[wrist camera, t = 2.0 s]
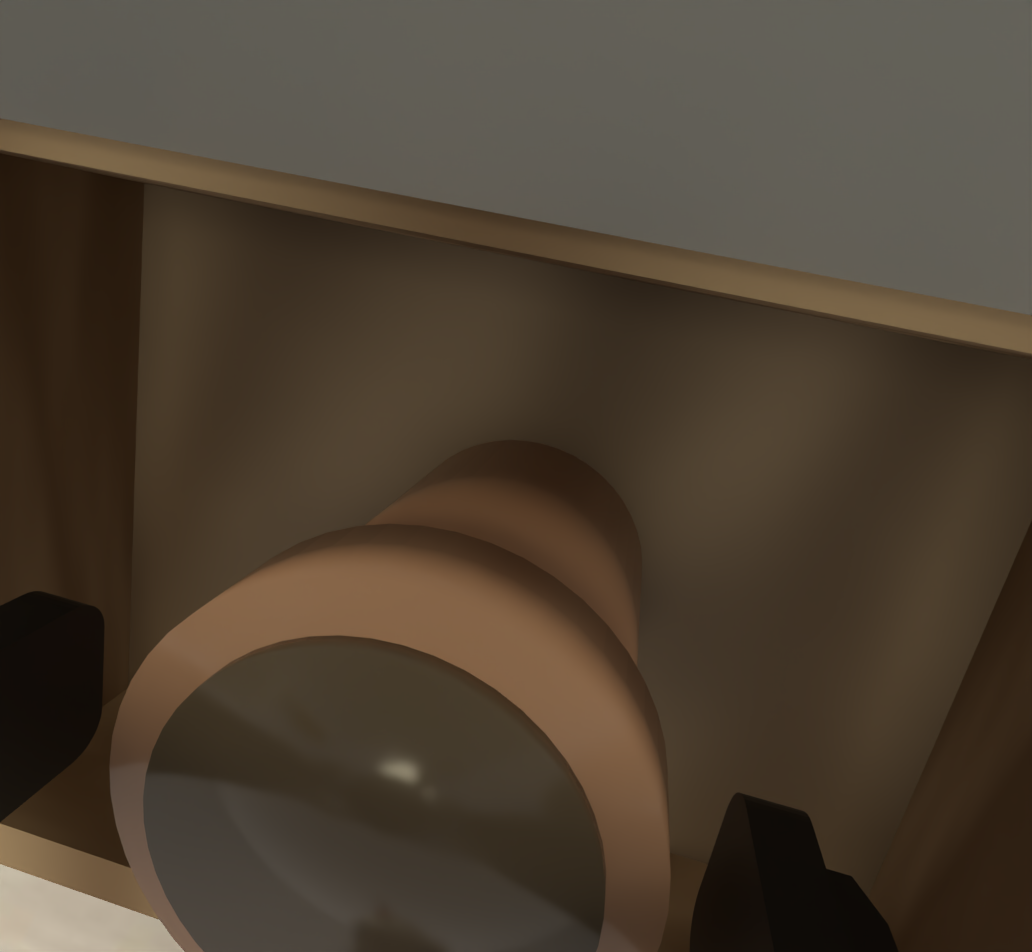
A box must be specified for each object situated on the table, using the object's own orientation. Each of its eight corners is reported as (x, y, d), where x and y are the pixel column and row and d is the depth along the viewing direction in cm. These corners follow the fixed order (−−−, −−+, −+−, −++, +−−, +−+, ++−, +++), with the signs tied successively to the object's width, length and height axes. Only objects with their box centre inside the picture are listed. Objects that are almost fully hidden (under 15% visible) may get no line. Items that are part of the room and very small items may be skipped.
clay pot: (696, 458, 13) (752, 693, 6) (624, 720, 15) (591, 1176, 7) (402, 391, 14) (96, 515, 6) (365, 646, 16) (88, 989, 8)
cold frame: (1162, 323, 12) (2033, 382, 4) (884, 936, 16) (1092, 1518, 8) (123, 127, 15) (-455, -47, 7) (109, 697, 19) (-266, 977, 11)
